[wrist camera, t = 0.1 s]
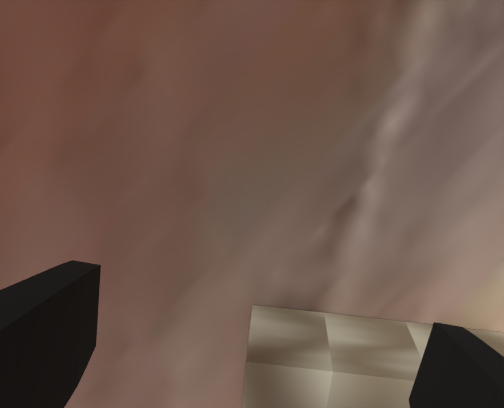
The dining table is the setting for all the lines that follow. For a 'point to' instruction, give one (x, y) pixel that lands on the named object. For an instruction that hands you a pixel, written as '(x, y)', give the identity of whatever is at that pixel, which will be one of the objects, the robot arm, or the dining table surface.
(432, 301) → the dining table surface
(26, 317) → the robot arm
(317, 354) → the socket board
